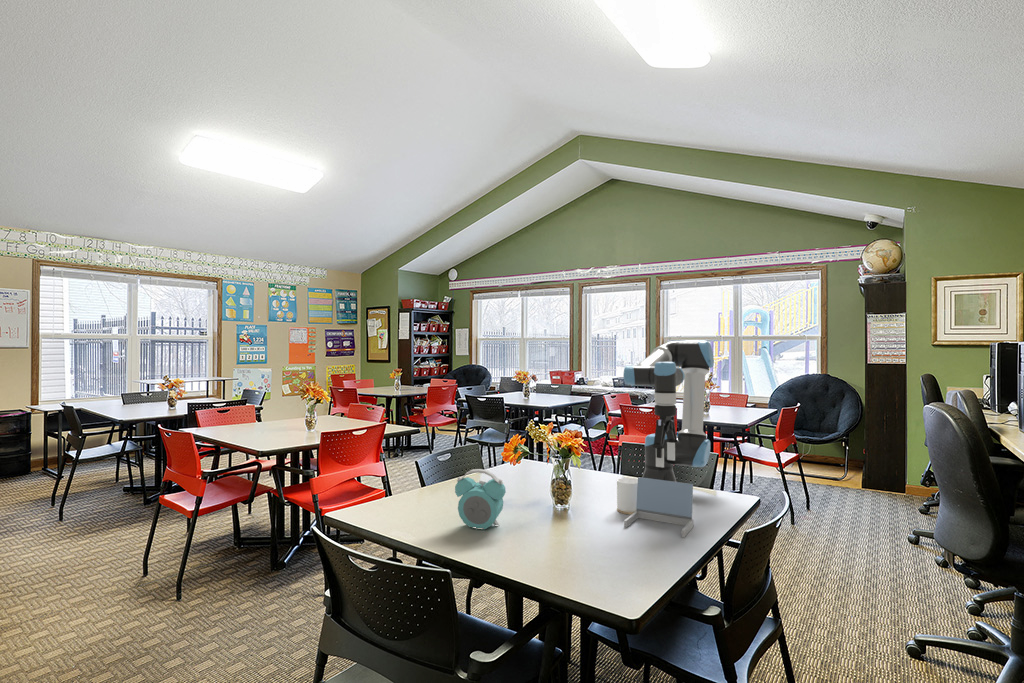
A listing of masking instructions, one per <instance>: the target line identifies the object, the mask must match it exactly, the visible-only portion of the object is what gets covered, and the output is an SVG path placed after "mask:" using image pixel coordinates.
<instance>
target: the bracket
mask: <svg viewBox="0 0 1024 683" xmlns="http://www.w3.org/2000/svg"><path fill="white" fill-rule="evenodd" d="M637 519H642V520H643V519H644V520H647V521H648V520H649V521H656V522H661V523H668V524H674V525H680V526H683V528H682V529H681V534H680V535H681V537H680V538H685V537H686V536H687V535H688V534H689V532H691V530H692V529H693V527H694V519H692V520H689V519H683V518H677V517H670V516H664V515H658V514H651V513H645V512H639V511H635V512H634V513H633V514H632V515H629V516H628V517H626V518H625V519H624V520H623V527H624V528H627V527H629V526H630V525H631V524H632V523H633V522H635V521H636V520H637Z"/></svg>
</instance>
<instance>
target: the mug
mask: <svg viewBox="0 0 1024 683" xmlns="http://www.w3.org/2000/svg"><path fill="white" fill-rule="evenodd" d="M637 486H638V478H632V477H621V478H617V480H616V509H617V508H618V509H619V510H620V511H623V512H635V511H636V506H637Z"/></svg>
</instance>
